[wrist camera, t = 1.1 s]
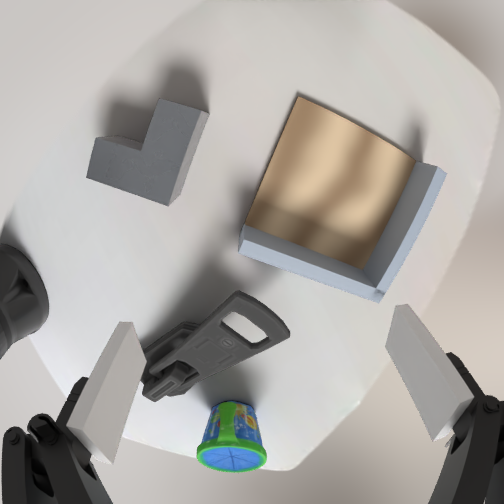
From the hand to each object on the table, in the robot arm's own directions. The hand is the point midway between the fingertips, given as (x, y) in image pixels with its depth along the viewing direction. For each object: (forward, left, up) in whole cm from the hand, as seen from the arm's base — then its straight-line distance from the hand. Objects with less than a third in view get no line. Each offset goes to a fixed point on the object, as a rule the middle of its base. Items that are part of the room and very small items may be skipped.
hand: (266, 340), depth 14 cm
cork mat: (+6, +7, -19) cm, 21 cm away
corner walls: (+7, +6, -19) cm, 21 cm away
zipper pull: (-1, -18, -20) cm, 26 cm away
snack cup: (+9, -32, -19) cm, 39 cm away
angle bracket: (-13, +4, -19) cm, 24 cm away
